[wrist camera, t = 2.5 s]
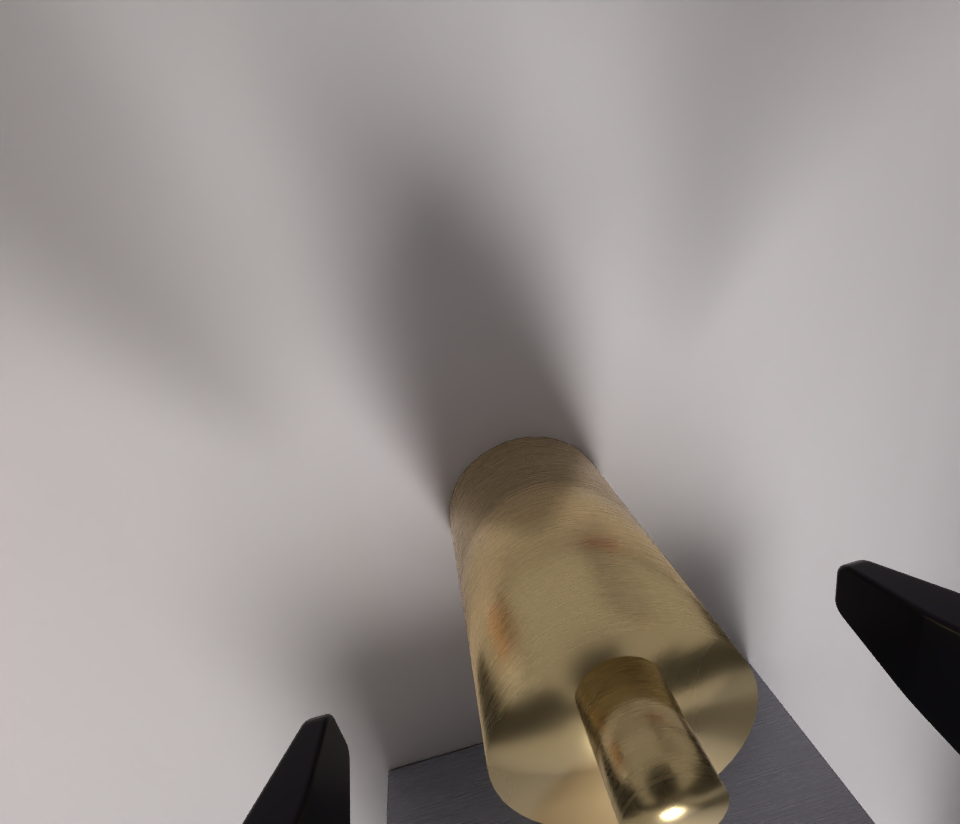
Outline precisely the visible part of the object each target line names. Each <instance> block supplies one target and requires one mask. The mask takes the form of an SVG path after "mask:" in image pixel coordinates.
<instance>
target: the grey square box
mask: <svg viewBox="0 0 960 824" xmlns="http://www.w3.org/2000/svg"><path fill="white" fill-rule="evenodd" d="M748 665H749V666H750V668H751V670H752V672H753V674H754V677H755V680H756V684H757V689H758V706H757V713H756V717H755V721H754V724H753V726H752V729H751V731H750V733H749V736H748V737H747V739H746V741H745V742H744V744H743V746H742V748H741V749H740V750H739V752H738V753H737V754H736V756H735V757H734V758H733V760H732V761H731V762H730V763H729V764H728V765H727V766H726V767H725V768H724V769H723V770H722V771H721V772H720V773H719V774H718V775H719V777H720V779H721V781H722V782H723V784H724V786H725V788H726V789H727V791H728V794H729V806H728V810H727V812H726V814H725V816H724V817H723V819H722V820H721V821H720V822H719V824H875V823H874V822H873V820H872V819H871V818H870V817H869V815H868V814H867V813H866V811H865V810H864V809H863V808H862V806H861V805H860V804H859V803H858V801H857V800H856V799H855V797H854V796H853V795H852V794H851V792H850V791H849V790H848V789H847V787H846V786H845V785H844V783H843V782H842V781H841V780H840V778H839V777H838V776H837V774H836V773H835V772H834V771H833V769H832V768H831V767H830V766H829V764H828V763H827V762H826V760H825V759H824V758H823V757H822V755H821V754H820V753H819V751H818V750H817V749H816V748H815V746H814V745H813V744H812V743H811V741H810V740H809V739H808V737H807V736H806V735H805V734H804V732H803V731H802V730H801V728H800V727H799V726H798V725H797V723H796V722H795V721H794V720H793V718H792V717H791V716H790V714H789V713H788V712H787V711H786V709H785V708H784V707H783V705H782V704H781V703H780V702H779V700H778V699H777V698H776V697H775V695H774V694H773V693H772V691H771V690H770V689H769V688H768V686H767V685H766V684H765V682H764V681H763V680H762V679H761V677H760V676H759V675H758V674H757V672H756V671H755V670H754V668H753V667H752V666H751V665H750V664H748ZM387 824H543V823H539V822H536V821H533V820H531V819H529V818H527V817H525V816H522V815H521V814H519V813H518V812H516V811H515V810H513V809H512V808H510V807H509V806H508V805H507V804H506V803H505V802H504V801H503V800H502V799H501V798H500V796H499V795H498V794H497V792H496V791H495V789H494V787H493V785H492V783H491V781H490V778H489V773H488V769H487V763H486V757H485V750H484V743H483V744H479V745H476V746H473V747H469V748H466V749H463V750H459V751H456V752H452V753H449V754H446V755H442V756H439V757H436V758H432V759H429V760H426V761H422V762H419V763H415V764H412V765H409V766H405V767H402V768H399V769H395V770H392V771H389V772H388V801H387Z"/></svg>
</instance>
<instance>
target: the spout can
mask: <svg viewBox="0 0 960 824" xmlns="http://www.w3.org/2000/svg"><path fill="white" fill-rule="evenodd" d="M450 524H451V531H452V537H453V544H454V551H455V557H456V564H457V570H458V577H459V584H460V590H461V597H462V604H463V610H464V617H465V624H466V630H467V637H468V644H469V650H470V657H471V664H472V670H473V677H474V684H475V690H476V697H477V703H478V710H479V717H480V723H481V730H482V737H483V743H484V750H485V757H486V763H487V769H488V773H489V778H490V781H491V783H492V785H493V787H494V789H495V791H496V792H497V794H498V795H499V796H500V798H501V799H502V800H503V801H504V802H505V803H506V804H507V805H508V806H509V807H510V808H512V809H513V810H515V811H516V812H518V813H519V814H521V815H522V816H525V817H527V818H529V819H531V820H533V821H536V822H539V823H543V824H719V822H720V821H721V820H722V819H723V817H724V816H725V814H726V812H727V810H728V806H729V794H728V791H727V789H726V788H725V786H724V784H723V782H722V781H721V779H720V777H719V775H718V774H719V773H720V772H721V771H722V770H723V769H724V768H725V767H726V766H727V765H728V764H729V763H730V762H731V761H732V760H733V758H734V757H735V756H736V754H737V753H738V752H739V750H740V749H741V748H742V746H743V744H744V742H745V741H746V739H747V737H748V736H749V733H750V731H751V729H752V726H753V724H754V721H755V717H756V713H757V706H758V689H757V684H756V680H755V677H754V674H753V672H752V670H751V668H750V666H749V665H748V663H747V662H746V660H745V659H744V658H743V657H742V655H741V654H740V653H739V651H738V650H737V649H736V648H735V646H734V645H733V644H732V642H731V641H730V640H729V639H728V637H727V636H726V635H725V633H724V632H723V631H722V630H721V628H720V627H719V626H718V624H717V623H716V622H715V621H714V619H713V618H712V617H711V615H710V614H709V613H708V612H707V610H706V609H705V608H704V606H703V605H702V604H701V603H700V601H699V600H698V599H697V597H696V596H695V595H694V594H693V592H692V591H691V590H690V588H689V587H688V586H687V585H686V583H685V582H684V581H683V579H682V578H681V577H680V576H679V574H678V573H677V572H676V570H675V569H674V568H673V567H672V565H671V564H670V563H669V561H668V560H667V559H666V558H665V556H664V555H663V554H662V552H661V551H660V550H659V549H658V547H657V546H656V545H655V543H654V542H653V541H652V540H651V538H650V537H649V536H648V534H647V533H646V532H645V531H644V529H643V528H642V527H641V525H640V524H639V523H638V522H637V520H636V519H635V518H634V516H633V515H632V514H631V513H630V511H629V510H628V509H627V507H626V506H625V505H624V504H623V502H622V501H621V500H620V498H619V497H618V496H617V495H616V493H615V492H614V491H613V489H612V488H611V487H610V486H609V484H608V483H607V482H606V480H605V479H604V478H603V477H602V475H601V474H600V473H599V471H598V470H597V469H596V468H595V466H594V465H593V464H592V463H591V461H590V460H589V459H588V458H587V457H586V456H585V455H584V454H583V453H582V452H581V451H579V450H578V449H576V448H575V447H573V446H571V445H569V444H567V443H565V442H562V441H559V440H556V439H551V438H545V437H528V438H520V439H515V440H511V441H508V442H505V443H502V444H500V445H498V446H496V447H494V448H492V449H490V450H489V451H487V452H485V453H484V454H482V455H481V456H480V457H479V458H477V459H476V460H475V461H474V462H473V463H472V464H471V465H470V466H469V467H468V468H467V469H466V471H465V472H464V473H463V475H462V476H461V478H460V479H459V481H458V483H457V485H456V487H455V489H454V492H453V495H452V499H451V503H450Z"/></svg>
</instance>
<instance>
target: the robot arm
mask: <svg viewBox="0 0 960 824" xmlns="http://www.w3.org/2000/svg"><path fill="white" fill-rule="evenodd" d="M835 602H836V606H837V608H838V610H839V612H840V614H841V615H842V617H843V618H844V619H845V621H846V622H847V623H848V624H849V626H850V627H851V628H852V629H853V631H854V632H855V633H856V634H857V636H858V637H859V638H860V639H861V641H862V642H863V643H864V644H865V646H866V647H867V648H868V650H869V651H870V652H871V653H872V655H873V656H874V657H875V658H876V660H877V661H878V662H879V663H880V665H881V666H882V667H883V668H884V670H885V671H886V672H887V673H888V675H889V676H890V677H891V679H892V680H893V681H894V682H895V684H896V685H897V686H898V687H899V688H900V690H901V691H902V692H903V693H904V694H905V696H906V697H907V698H908V699H909V700H910V702H911V703H912V704H913V705H914V706H915V707H916V708H917V709H918V710H919V712H920V713H921V714H922V715H923V716H924V717H925V718H926V719H927V720H928V721H929V722H930V723H931V724H932V726H933V727H934V728H935V729H936V730H937V731H938V732H939V733H940V734H941V735H942V736H943V737H944V738H945V739H946V741H947V742H948V743H949V744H950V745H951V746H952V747H953V748H954V749H955V750H956V751H957V752H958V753H959V754H960V593H957V592H955V591H952V590H949V589H946V588H943V587H940V586H938V585H935V584H932V583H929V582H926V581H924V580H921V579H918V578H915V577H912V576H910V575H907V574H904V573H901V572H898V571H895V570H893V569H890V568H887V567H884V566H881V565H879V564H876V563H873V562H870V561H866V560H859V561H855V562H851V563H848V564H845V565H842V566H840V568H839V569H838V572H837V584H836V596H835ZM243 824H350V757H349V750H348V746H347V743H346V741H345V739H344V737H343V735H342V733H341V731H340V729H339V727H338V725H337V723H336V721H335V719H334V718H333V716H332V715H330V714H325V715H321V716H318V717H314V718H311V719H309V720H307V721H306V722H305V723H304V724H303V725H302V726H301V728H300V730H299V731H298V733H297V734H296V736H295V738H294V739H293V741H292V743H291V744H290V746H289V748H288V749H287V751H286V753H285V754H284V756H283V758H282V759H281V761H280V763H279V764H278V766H277V767H276V769H275V771H274V772H273V774H272V776H271V777H270V779H269V781H268V782H267V784H266V786H265V787H264V789H263V791H262V792H261V794H260V795H259V797H258V799H257V800H256V802H255V804H254V805H253V807H252V809H251V810H250V812H249V814H248V815H247V817H246V819H245V820H244V822H243Z"/></svg>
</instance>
